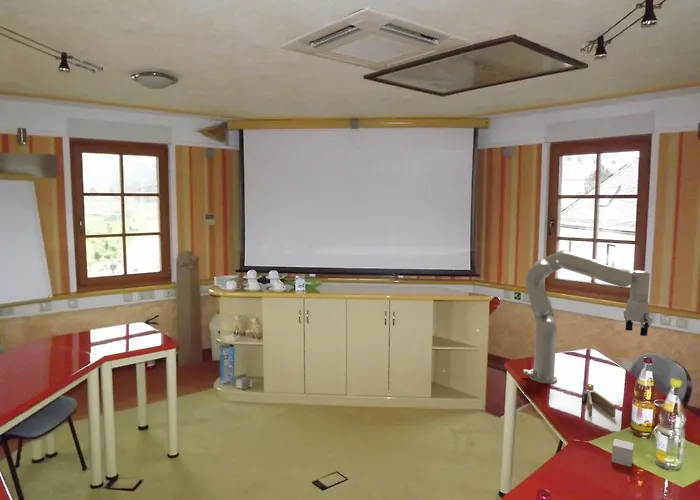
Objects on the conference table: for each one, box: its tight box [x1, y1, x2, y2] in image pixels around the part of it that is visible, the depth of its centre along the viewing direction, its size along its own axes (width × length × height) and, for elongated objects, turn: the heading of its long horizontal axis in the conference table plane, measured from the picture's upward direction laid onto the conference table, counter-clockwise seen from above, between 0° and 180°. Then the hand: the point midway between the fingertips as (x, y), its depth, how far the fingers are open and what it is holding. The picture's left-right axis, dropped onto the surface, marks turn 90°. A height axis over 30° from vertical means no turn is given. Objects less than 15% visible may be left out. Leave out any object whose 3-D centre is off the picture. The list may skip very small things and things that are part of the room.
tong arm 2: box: [592, 390, 617, 419], centre depth 217 cm, size 1×16×5 cm, turn 2°
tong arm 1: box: [586, 390, 594, 417], centre depth 218 cm, size 1×16×5 cm, turn 158°
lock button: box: [586, 383, 595, 392], centre depth 227 cm, size 3×3×2 cm
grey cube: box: [611, 438, 635, 467], centre depth 175 cm, size 6×6×6 cm
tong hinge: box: [581, 390, 594, 404], centre depth 228 cm, size 5×3×4 cm, turn 80°
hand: (636, 332), depth 239 cm, fingers open, 9 cm apart
